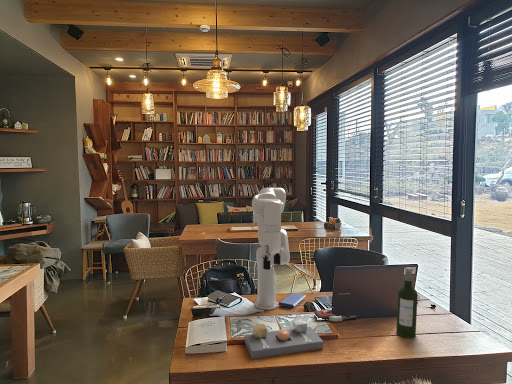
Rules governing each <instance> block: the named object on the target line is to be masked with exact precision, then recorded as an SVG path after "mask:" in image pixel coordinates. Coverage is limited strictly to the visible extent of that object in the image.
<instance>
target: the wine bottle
mask: <svg viewBox="0 0 512 384" xmlns="http://www.w3.org/2000/svg"><path fill="white" fill-rule="evenodd" d="M418 296H419V295H418V291H416V289H415V288H414V287H413V268H412V267H409V266H407V267H405V275H404V285H402V286H401V287H400V288H399V289H398V291H397V309H396V334H397V335H398V336H399V337H402V338H404V339H413V338H415V337H416V335H417V334H416V333H417V314H418Z"/></svg>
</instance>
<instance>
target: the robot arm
mask: <svg viewBox="0 0 512 384" xmlns="http://www.w3.org/2000/svg"><path fill="white" fill-rule="evenodd" d="M286 199H287V193H286V190H285V189H284V188H282V187H263V188H262V189H260V190H259V191H258V194H256V195H255V196H253V198H252V200H251V209H252V213H253V216H254V219H255V221H256V223H257V237H258V238H257V239H258V243H259V245H260V246H259V247H258V248H257V249H256V252H255V254H256V255H255V257H256V264H257V265H256V266H257V300H256V301H255V302H254V307H255V308H257V309H259V310H264V311H269V310H270V311H271V310H275V309H277V308H278V307H279V301H277V300H276V296H277V295H276V293H277V292H276V290H277V289H276V287H277V284H276V281H277V279H276V277H277V274H276V273H277V272H276V271H275V269H274V267H273V265H277V266H278V265H279V266H280V265H287V264H289V263H290V259H291V256H290V255H291V254H290V246H289V245H290V244H289V239H288V238H289V236H288V233H287V231H286V229H283V228H282V214H283V212H284V209H285V205H286Z"/></svg>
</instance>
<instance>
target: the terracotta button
mask: <svg viewBox="0 0 512 384" xmlns="http://www.w3.org/2000/svg"><path fill="white" fill-rule="evenodd" d="M277 331H278V332H277V339H278V340H279V341H283V342H284V341H288V340H289V331H287V329H283V328H282V329H278V330H277Z"/></svg>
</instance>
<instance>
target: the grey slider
mask: <svg viewBox="0 0 512 384" xmlns="http://www.w3.org/2000/svg"><path fill="white" fill-rule="evenodd" d="M307 327H308V322H307V321H305V319H302V318H301V319H294V320H292V329H294V331H295V332H296V333H297V332H305V331H307Z"/></svg>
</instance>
